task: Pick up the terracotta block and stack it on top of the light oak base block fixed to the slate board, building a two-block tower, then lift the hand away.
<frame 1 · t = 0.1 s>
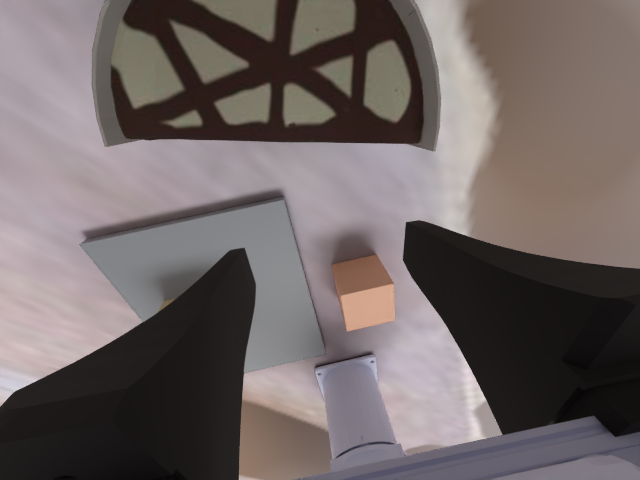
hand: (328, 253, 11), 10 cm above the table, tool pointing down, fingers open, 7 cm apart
terracotta block: (356, 276, 25), on the table
food container: (282, 73, 16), on the table
slate board: (231, 305, 24), on the table
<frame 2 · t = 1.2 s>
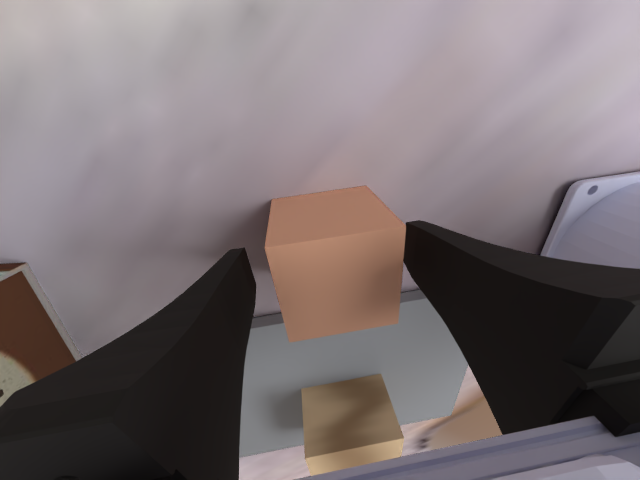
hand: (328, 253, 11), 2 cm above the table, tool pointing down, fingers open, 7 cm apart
oak base block: (341, 391, 20), resting on slate board
terracotta block: (323, 233, 13), on the table
food container: (4, 330, 13), on the table
slate board: (340, 378, 19), on the table
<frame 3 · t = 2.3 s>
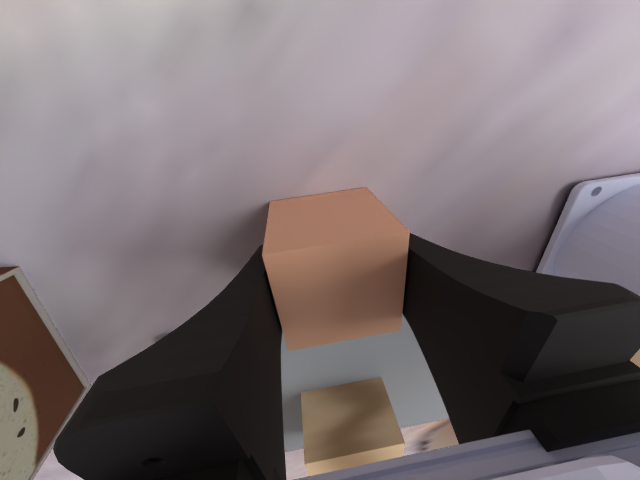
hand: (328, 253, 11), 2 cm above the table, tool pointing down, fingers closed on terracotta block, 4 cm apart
oak base block: (341, 395, 20), resting on slate board
terracotta block: (323, 236, 12), on the table, touching gripper
slate board: (340, 381, 19), on the table
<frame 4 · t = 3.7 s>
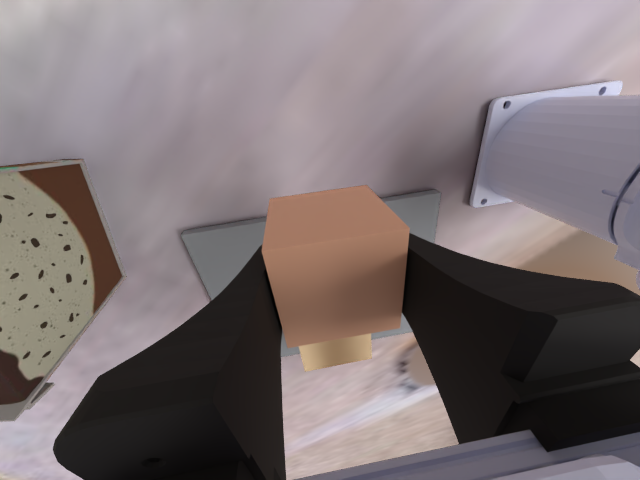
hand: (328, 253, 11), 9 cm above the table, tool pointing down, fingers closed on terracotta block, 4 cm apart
oak base block: (326, 301, 24), resting on slate board
terracotta block: (323, 234, 12), point 7 cm above the table, touching gripper
food container: (61, 222, 17), on the table
slate board: (324, 286, 23), on the table
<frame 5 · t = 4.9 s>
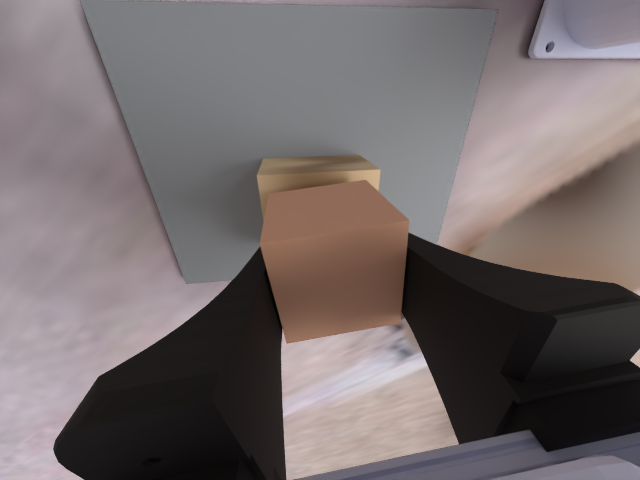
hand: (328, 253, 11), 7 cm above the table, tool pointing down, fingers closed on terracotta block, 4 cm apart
oak base block: (312, 198, 17), resting on slate board
terracotta block: (322, 229, 12), point 6 cm above the table, touching gripper
slate board: (311, 169, 16), on the table
when the fingers open (7 cm above the table, at t = 5.5 s): terracotta block stays where it is, resting on oak base block.
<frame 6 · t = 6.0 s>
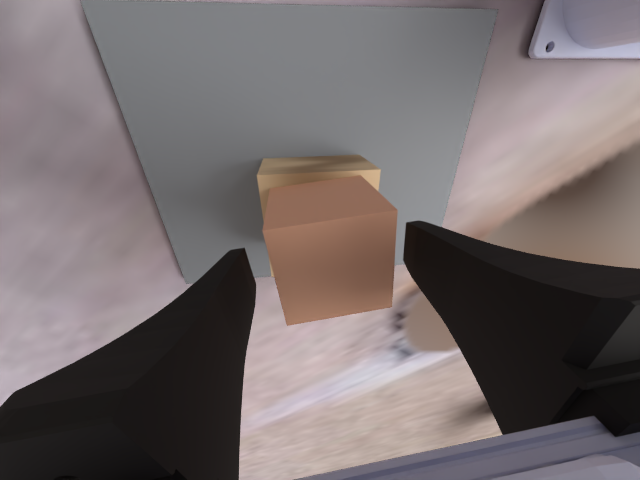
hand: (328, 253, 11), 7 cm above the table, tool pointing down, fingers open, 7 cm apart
oak base block: (312, 198, 17), resting on slate board
terracotta block: (320, 222, 13), point 5 cm above the table, touching oak base block
slate board: (311, 169, 16), on the table
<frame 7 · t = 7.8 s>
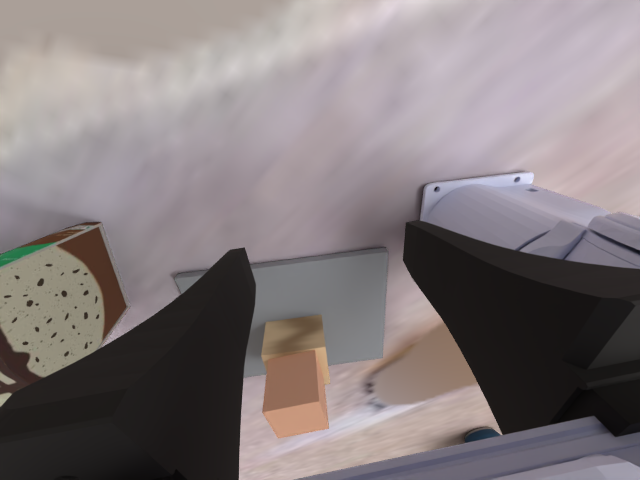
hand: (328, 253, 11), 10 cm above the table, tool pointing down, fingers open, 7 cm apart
oak base block: (297, 331, 28), resting on slate board
terracotta block: (297, 368, 24), point 5 cm above the table, touching oak base block
food container: (81, 265, 22), on the table
soda can: (478, 433, 46), on the table
slate board: (295, 319, 27), on the table
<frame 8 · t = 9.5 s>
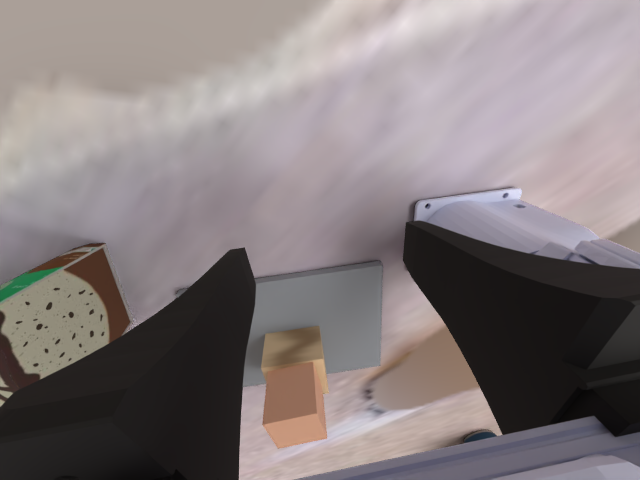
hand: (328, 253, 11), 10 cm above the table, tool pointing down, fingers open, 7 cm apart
oak base block: (296, 341, 29), resting on slate board
terracotta block: (296, 379, 24), point 5 cm above the table, touching oak base block
food container: (86, 283, 23), on the table
soda can: (477, 436, 47), on the table
slate board: (293, 330, 28), on the table
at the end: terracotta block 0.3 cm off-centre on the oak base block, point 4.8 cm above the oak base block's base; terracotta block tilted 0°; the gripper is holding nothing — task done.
